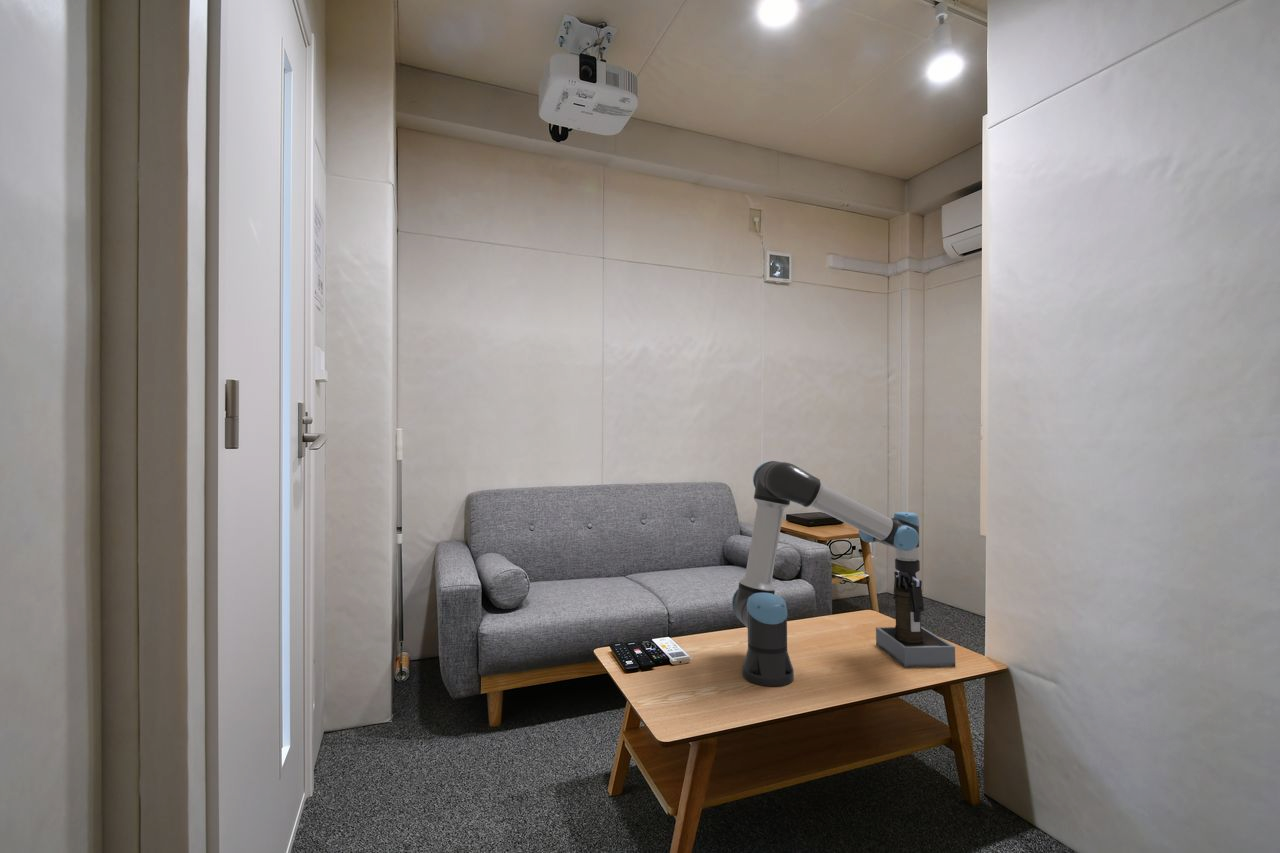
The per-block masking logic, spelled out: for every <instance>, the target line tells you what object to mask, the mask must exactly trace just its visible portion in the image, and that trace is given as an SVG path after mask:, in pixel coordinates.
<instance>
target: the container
mask: <svg viewBox="0 0 1280 853" xmlns="http://www.w3.org/2000/svg"><path fill="white" fill-rule="evenodd" d="M894 593H895V599H894V600H895V601H894V604H895V605H894V606H895V607H894V608H895V626H894V627H895V628H896V634H895V635H894V636H895V637H896V638H895V639H896V640H897V641H899V642H900V643H901V644H903V645H904V646H924V643H923V638H922V629H921V627H922V616H921V615H922V612H920V632H912V631H911V612H910V610H912V608H911V603H910V598H909V597H910V593H909V592H908V591H907V590H906V588H895V589H894V588H893V594H894Z"/></svg>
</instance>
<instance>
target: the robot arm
mask: <svg viewBox="0 0 1280 853" xmlns="http://www.w3.org/2000/svg"><path fill="white" fill-rule="evenodd" d="M752 482H753V486H754V488H755V489H754V495H753V500H754V502H755V503H756V511H755V518H754V522H753V528H752V534H751V539H750V540H751V541H750V547H749V552H748V556H747V557H748V558H747V564H746V570H745V574H744V577H743V578H741V579H739V581H738V582H739V583H738V587H737V589H736V590H735V591H734V593H733V595H732V598H731V599H732V600H731V606H732V610H733V612H734V615H735V617H736V618H737V619H738V620H739V621H740V622H741V623H742V624H743V625H744V626H745V627H746V628H747V651H746V653H745V657H744V659H743V663H742V667H741V669H742V673H741V675H742V676H743V679H745V680H746V681H748V682H750V683H753V684H755V685H758V686H759V685H760V686H765V687H766V686H767V687H779V686H780V687H781V686H785V685H788V684H790V683H792V682H793V681H794V679H795V673H794V672H795V671H794V668H793V664H792V662H791V657H790V655H789V652H788V609H787V603H786V601H785V599H784V598H782V596H779V595H777V594H775V592H776V588H775V586H774V584H773V582H772V581H773V576H774V568H775V563H776V557H777V552H778V546H779V538H780V534H781V528H782V523H783V516H784V511H785V510H786V508H788V507H790V505H791V503H792V502H793V503H795V504H799V505H801V506H803V507H804V508H809V507H812V508H814V509H816V510H818V511H820V512H822V513H824V514H827V515H829V516H831V517H832V518H835V519H836V520H838V521H841V522H843V523H844V524H846V525H848V526H851V527H853V528H855V529H857V530H858V534H859V537H860V539H861V540H862V541H863V542H866V543H879V544H882V545H885V546H890V547H893V548H894V557H895V558H894V568H895V570H897V571H894V582H893V590H894V589H895V588H906V590H907V591H908V592H909V593H910V597H909V598H910V603H911V608H912V610H910V612H911V631H912V632H920V612H921V613H923V612H925V606H924V596H923V591H922V590H923V589H922V587H923V586H922V584H923V582H922V579H917V575H916V573H919V571H921V566H920V565H921V564H920V562H921V561H920V551H921V548H920V520H919V516H918V514H917V513H915V512H912V511H895V512H894V514H893V518H890V517H888V516H886V515H885V514H883V513H881V512H878V511H877V510H875V509H873V508H870V507H868V506H866V505H864V504H863V503H860V502H859V501H856V500H855V499H852V498H850V497H849V496H846V495H844V494H843V493H841V492H838V491H836V490H835V489H832V488H831V487H828V486H826V485H824V484H823V483H822V480H821V479H820V478H818V477H816V476H814V475H812V474H810V473H809V472H807V471H806V470H804V469H802V468H800V467H799V466H797V465H796V464H793V463H790V462H785V461H784V462H783V461H776V460H770V461H766V462H763V463H762V464H760V465H759V466H757V467H756V469H755V470H754V473H753V476H752ZM892 594H893V600H895V593H894V592H893V593H892Z"/></svg>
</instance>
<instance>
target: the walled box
mask: <svg viewBox="0 0 1280 853" xmlns="http://www.w3.org/2000/svg"><path fill="white" fill-rule="evenodd" d="M921 629H922V638H923V643H924V646H904V645H903V644H901V643H900V642H899V641H897V640H896V639H895V638H896V637H895V636H894V635H895V634H896V628H895V626H879V627H877V626H876V627H875V645H876V646H877V647H878V648H880V649H881V650H882V651H883V652H885V653H886V654H887V655H888V656H889V657H890V658H892V659H894V660H895V661H896V662H898V664H900V665H901V666H903V667H904V668H938V667H939V668H940V667H941V668H942V667H944V668H946V667H947V666H951V667H956V647H955V646H954V645H952V644H951V643H950V642H948V641H946V640H945V639H943V638H942V637H940V636H938V635H936V634H935V633H933V632H931V631H930V630H928V629H926V628H924V627H923V626H921ZM947 668H948V667H947Z"/></svg>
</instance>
